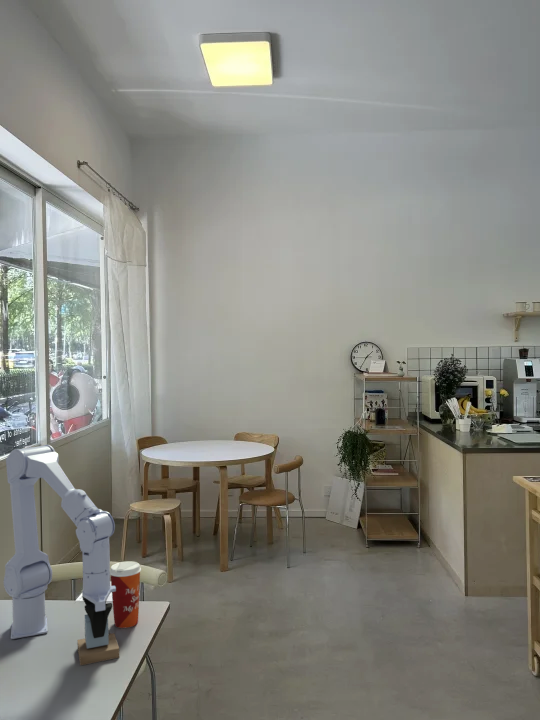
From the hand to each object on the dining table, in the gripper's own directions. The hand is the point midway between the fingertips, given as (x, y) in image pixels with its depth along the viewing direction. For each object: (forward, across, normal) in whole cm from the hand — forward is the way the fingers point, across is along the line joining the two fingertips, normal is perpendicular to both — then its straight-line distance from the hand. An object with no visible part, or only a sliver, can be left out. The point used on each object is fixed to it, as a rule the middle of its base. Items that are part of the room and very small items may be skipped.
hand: (97, 632), depth 128 cm
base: (+5, 0, 0) cm, 5 cm away
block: (+2, 0, 0) cm, 2 cm away
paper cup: (+5, +13, -8) cm, 16 cm away
